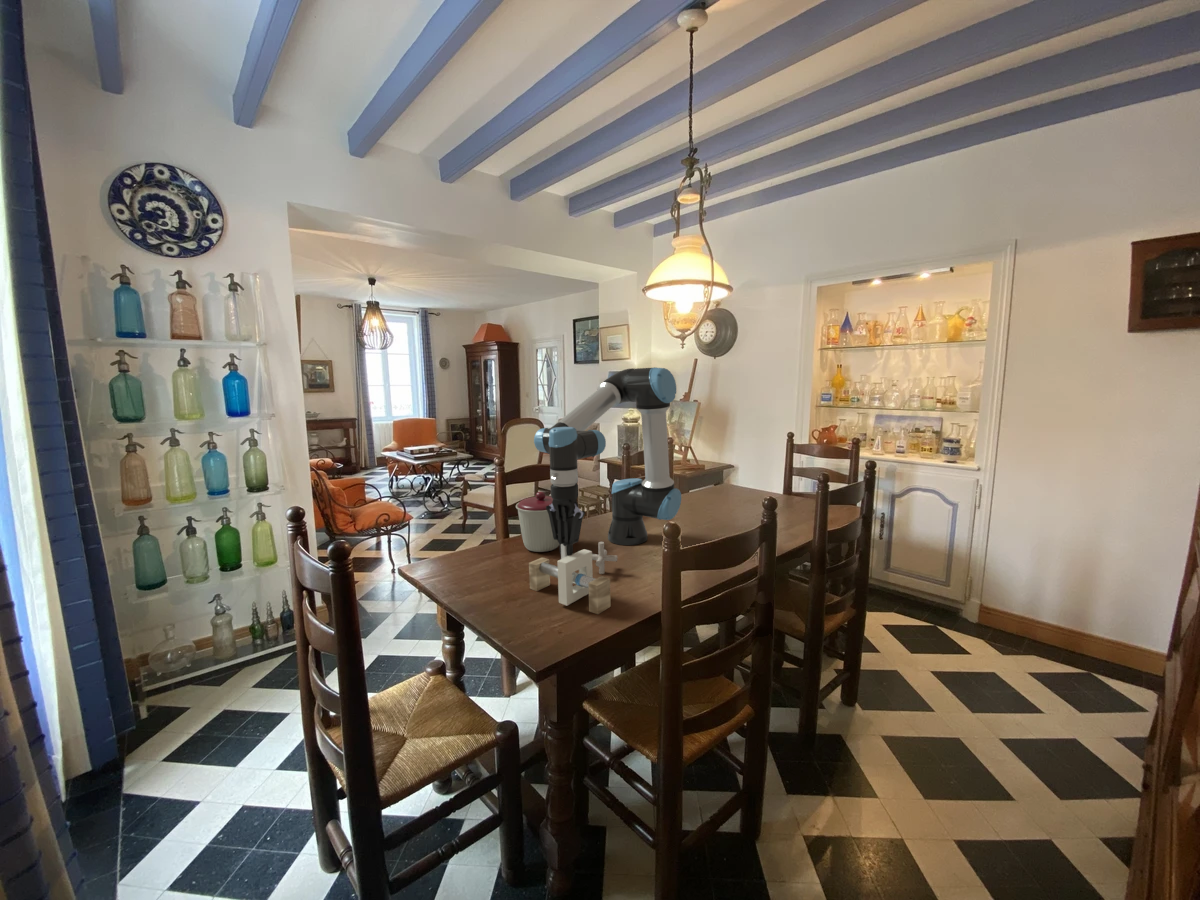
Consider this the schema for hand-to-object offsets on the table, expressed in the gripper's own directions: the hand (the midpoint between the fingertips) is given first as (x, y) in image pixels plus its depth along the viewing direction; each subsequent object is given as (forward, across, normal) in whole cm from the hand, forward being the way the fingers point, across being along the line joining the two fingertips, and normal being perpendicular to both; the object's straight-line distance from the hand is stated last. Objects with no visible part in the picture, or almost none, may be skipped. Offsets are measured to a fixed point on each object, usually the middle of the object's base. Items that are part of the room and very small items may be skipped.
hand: (566, 565), depth 134 cm
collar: (+8, +3, 0) cm, 9 cm away
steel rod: (+5, 0, 0) cm, 5 cm away
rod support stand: (+10, 0, 0) cm, 10 cm away
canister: (+10, -35, +24) cm, 43 cm away
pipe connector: (+10, -3, +19) cm, 22 cm away
